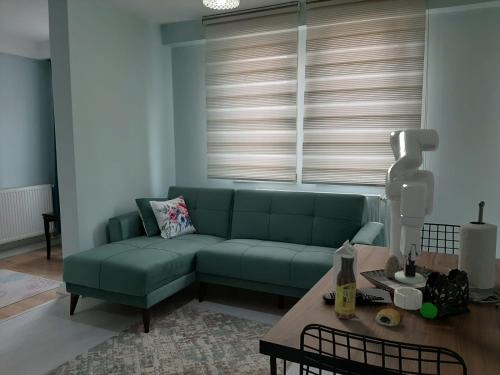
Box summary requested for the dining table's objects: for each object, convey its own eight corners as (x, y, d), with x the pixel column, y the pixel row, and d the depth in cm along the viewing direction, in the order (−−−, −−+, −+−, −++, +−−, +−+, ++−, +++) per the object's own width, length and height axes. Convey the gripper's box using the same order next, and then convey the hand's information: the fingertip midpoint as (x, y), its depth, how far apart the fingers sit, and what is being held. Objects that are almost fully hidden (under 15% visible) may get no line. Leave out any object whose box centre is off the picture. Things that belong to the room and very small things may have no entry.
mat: (360, 289, 153) (360, 287, 153) (388, 291, 151) (388, 289, 151) (361, 302, 142) (362, 300, 142) (392, 304, 140) (392, 302, 140)
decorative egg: (385, 275, 167) (386, 252, 166) (400, 278, 164) (402, 254, 163) (383, 280, 162) (384, 256, 161) (398, 283, 159) (400, 258, 158)
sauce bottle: (343, 322, 127) (345, 260, 124) (330, 314, 133) (332, 255, 130) (359, 317, 130) (361, 257, 127) (346, 309, 136) (347, 252, 133)
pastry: (383, 312, 134) (384, 301, 134) (404, 318, 130) (405, 306, 130) (373, 323, 127) (374, 311, 126) (396, 329, 123) (396, 317, 122)
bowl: (393, 299, 143) (393, 286, 143) (418, 301, 142) (419, 288, 141) (396, 310, 135) (396, 295, 135) (423, 312, 134) (423, 297, 133)
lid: (393, 273, 142) (394, 253, 141) (420, 275, 140) (421, 255, 140) (396, 282, 134) (397, 261, 133) (425, 284, 132) (427, 263, 131)
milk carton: (332, 292, 150) (333, 242, 147) (337, 286, 156) (339, 238, 153) (351, 296, 147) (353, 245, 144) (356, 289, 153) (358, 240, 150)
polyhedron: (420, 320, 128) (421, 305, 128) (419, 313, 133) (419, 299, 132) (437, 322, 127) (438, 307, 126) (435, 315, 131) (436, 301, 131)
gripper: (396, 215, 143) (394, 265, 146) (403, 225, 127) (401, 282, 130) (419, 216, 142) (416, 267, 144) (429, 226, 126) (426, 283, 128)
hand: (409, 273), depth 137 cm, fingers closed on lid, 3 cm apart
